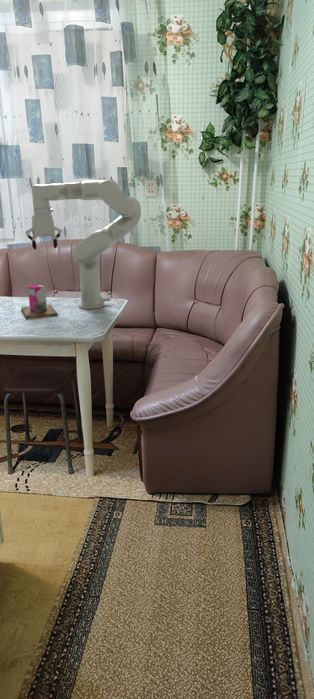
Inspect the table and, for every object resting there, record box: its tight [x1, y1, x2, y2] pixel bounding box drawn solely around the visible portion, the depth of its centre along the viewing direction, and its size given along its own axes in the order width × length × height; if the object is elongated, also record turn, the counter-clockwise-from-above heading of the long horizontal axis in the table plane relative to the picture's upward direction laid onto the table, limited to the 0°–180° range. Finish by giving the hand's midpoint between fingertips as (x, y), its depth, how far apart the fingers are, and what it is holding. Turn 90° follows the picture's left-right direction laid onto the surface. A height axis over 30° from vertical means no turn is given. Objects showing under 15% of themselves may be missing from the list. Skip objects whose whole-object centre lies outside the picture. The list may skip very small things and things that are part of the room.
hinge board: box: [21, 302, 59, 320], centre depth 239 cm, size 14×18×6 cm
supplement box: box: [27, 284, 48, 311], centre depth 238 cm, size 6×6×12 cm
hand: (45, 248), depth 246 cm, fingers open, 9 cm apart
